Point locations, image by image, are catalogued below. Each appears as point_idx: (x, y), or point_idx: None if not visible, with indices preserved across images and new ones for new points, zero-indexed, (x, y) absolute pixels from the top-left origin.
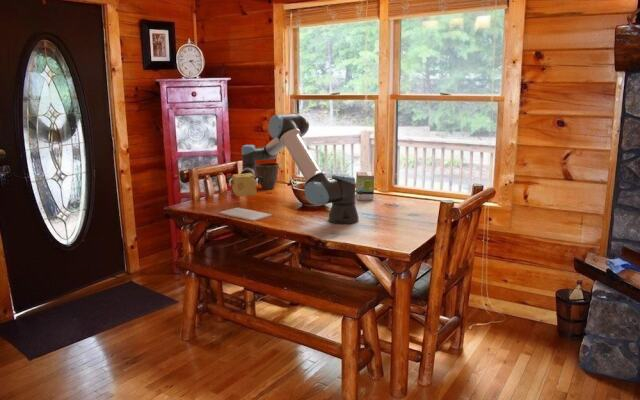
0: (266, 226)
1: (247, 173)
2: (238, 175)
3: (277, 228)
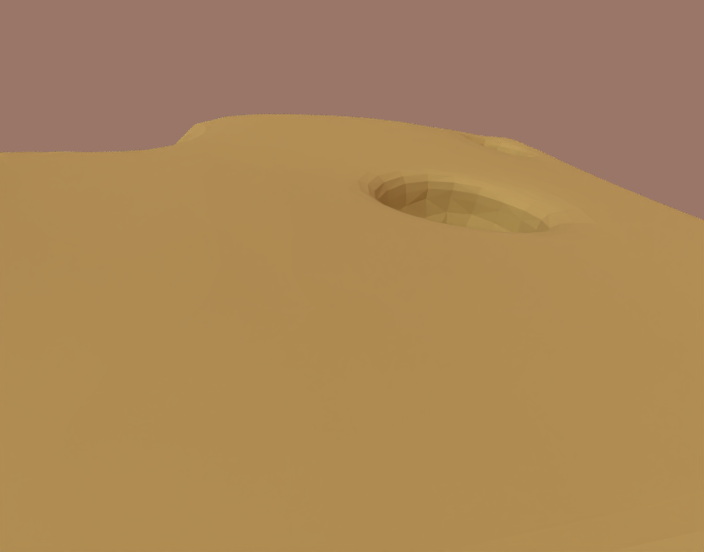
0: None
1: (275, 402)
2: (638, 237)
3: None
